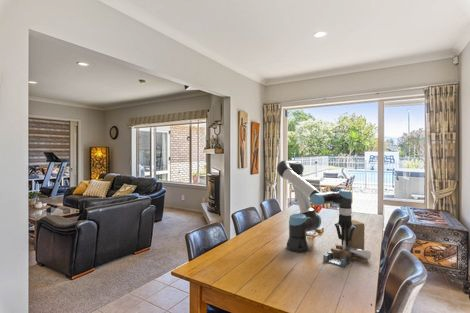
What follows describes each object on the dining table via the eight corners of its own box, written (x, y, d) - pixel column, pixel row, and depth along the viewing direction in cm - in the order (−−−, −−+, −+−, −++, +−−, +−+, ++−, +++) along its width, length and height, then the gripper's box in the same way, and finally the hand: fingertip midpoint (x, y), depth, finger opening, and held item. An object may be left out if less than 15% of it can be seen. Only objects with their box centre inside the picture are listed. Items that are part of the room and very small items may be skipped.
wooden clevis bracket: (330, 256, 171) (330, 248, 171) (337, 251, 179) (337, 244, 179) (365, 265, 157) (365, 256, 157) (370, 259, 165) (370, 251, 165)
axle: (344, 255, 168) (344, 247, 168) (347, 252, 172) (347, 244, 171) (368, 261, 159) (368, 253, 158) (370, 258, 162) (370, 250, 162)
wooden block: (351, 255, 173) (352, 224, 173) (341, 249, 183) (342, 220, 183) (364, 253, 176) (364, 223, 176) (354, 248, 185) (354, 219, 185)
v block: (323, 261, 163) (323, 254, 163) (328, 257, 169) (328, 250, 169) (344, 267, 154) (344, 260, 154) (349, 262, 161) (350, 256, 161)
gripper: (332, 213, 171) (332, 249, 172) (353, 216, 163) (353, 254, 163) (337, 211, 177) (336, 246, 177) (357, 214, 168) (357, 251, 169)
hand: (344, 250), depth 170 cm, fingers closed
